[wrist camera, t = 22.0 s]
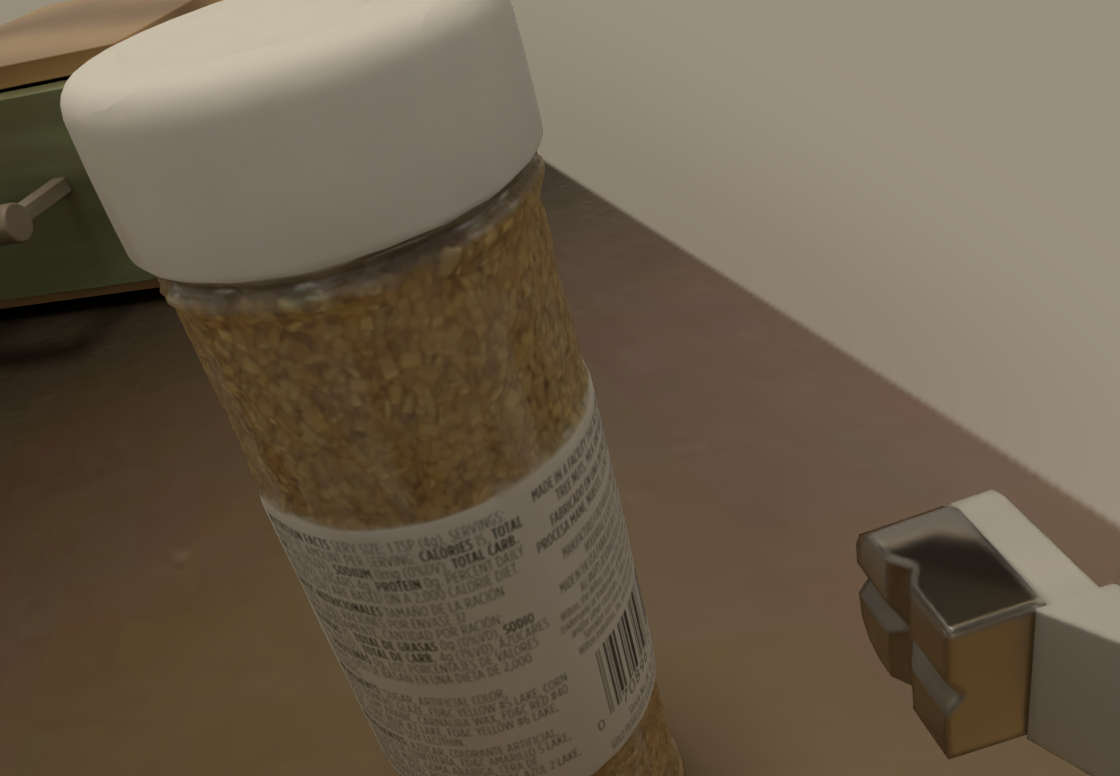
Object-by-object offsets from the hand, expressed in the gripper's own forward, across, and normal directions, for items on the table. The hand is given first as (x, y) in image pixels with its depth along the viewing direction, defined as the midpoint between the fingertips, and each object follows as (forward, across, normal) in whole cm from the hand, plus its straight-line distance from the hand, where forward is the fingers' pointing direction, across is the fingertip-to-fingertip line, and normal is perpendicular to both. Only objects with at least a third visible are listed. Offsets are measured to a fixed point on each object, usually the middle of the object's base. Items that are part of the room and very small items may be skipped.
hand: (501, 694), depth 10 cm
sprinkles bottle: (+3, 0, +7) cm, 8 cm away
